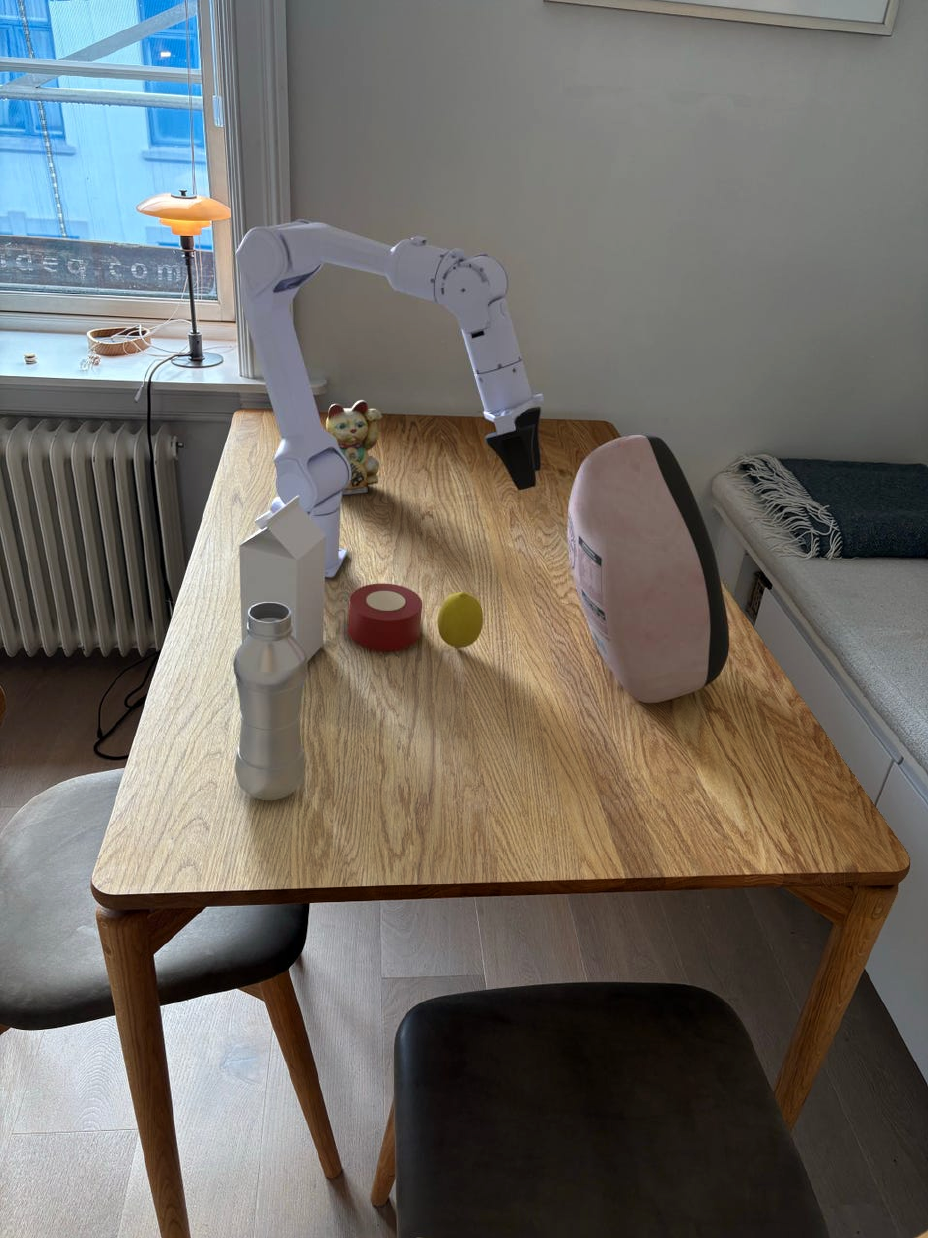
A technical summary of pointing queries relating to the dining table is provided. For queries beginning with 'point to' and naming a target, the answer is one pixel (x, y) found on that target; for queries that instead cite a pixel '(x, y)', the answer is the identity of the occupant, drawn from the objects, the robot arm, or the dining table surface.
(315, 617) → the milk carton
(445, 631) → the lemon
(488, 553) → the dining table surface
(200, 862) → the dining table surface
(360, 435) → the decorative figurine
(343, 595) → the dining table surface
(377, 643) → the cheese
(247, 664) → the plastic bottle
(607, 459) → the pink backpack
